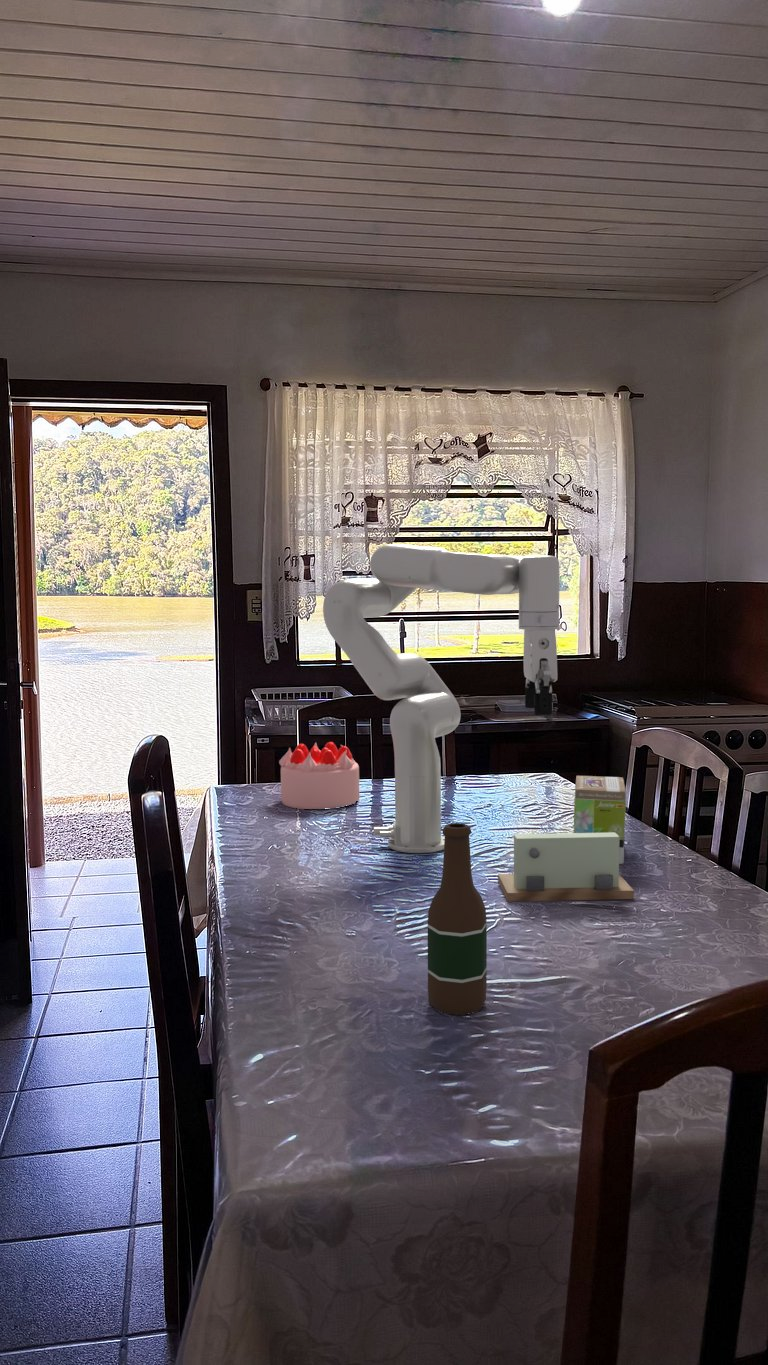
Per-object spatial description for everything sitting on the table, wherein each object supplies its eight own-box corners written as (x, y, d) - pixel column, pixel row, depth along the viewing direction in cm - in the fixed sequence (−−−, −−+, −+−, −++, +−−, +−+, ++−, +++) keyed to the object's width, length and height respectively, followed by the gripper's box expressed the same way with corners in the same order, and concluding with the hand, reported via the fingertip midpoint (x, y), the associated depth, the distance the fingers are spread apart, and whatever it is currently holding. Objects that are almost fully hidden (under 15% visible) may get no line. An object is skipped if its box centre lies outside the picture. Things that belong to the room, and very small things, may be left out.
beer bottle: (424, 992, 133) (423, 818, 131) (481, 990, 134) (481, 817, 131) (431, 1018, 126) (431, 833, 123) (492, 1015, 126) (492, 831, 124)
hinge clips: (527, 891, 171) (527, 877, 171) (521, 881, 177) (521, 867, 176) (612, 889, 171) (613, 875, 171) (604, 879, 177) (604, 866, 177)
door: (517, 890, 171) (517, 840, 170) (513, 883, 175) (513, 834, 174) (620, 888, 172) (621, 838, 171) (614, 881, 176) (614, 832, 175)
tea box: (625, 865, 191) (626, 790, 190) (572, 863, 193) (573, 788, 192) (622, 845, 206) (623, 775, 204) (573, 842, 208) (574, 773, 206)
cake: (357, 810, 238) (357, 752, 237) (275, 811, 239) (274, 753, 237) (360, 793, 258) (360, 739, 256) (284, 793, 258) (283, 740, 257)
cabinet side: (507, 901, 170) (507, 893, 170) (498, 882, 181) (498, 874, 181) (633, 899, 171) (633, 890, 171) (616, 879, 182) (616, 871, 182)
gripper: (568, 623, 178) (567, 717, 179) (549, 619, 195) (548, 705, 197) (527, 623, 177) (526, 717, 179) (511, 619, 195) (511, 705, 196)
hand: (538, 711), depth 188 cm, fingers open, 9 cm apart
